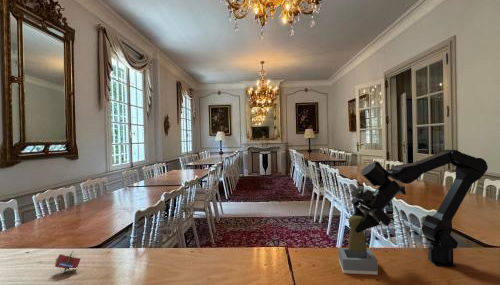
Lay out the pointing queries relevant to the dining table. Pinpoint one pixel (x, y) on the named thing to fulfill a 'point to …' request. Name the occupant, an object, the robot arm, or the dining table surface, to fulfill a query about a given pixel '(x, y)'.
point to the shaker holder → (358, 262)
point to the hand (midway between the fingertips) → (352, 229)
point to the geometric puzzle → (67, 261)
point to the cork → (356, 235)
